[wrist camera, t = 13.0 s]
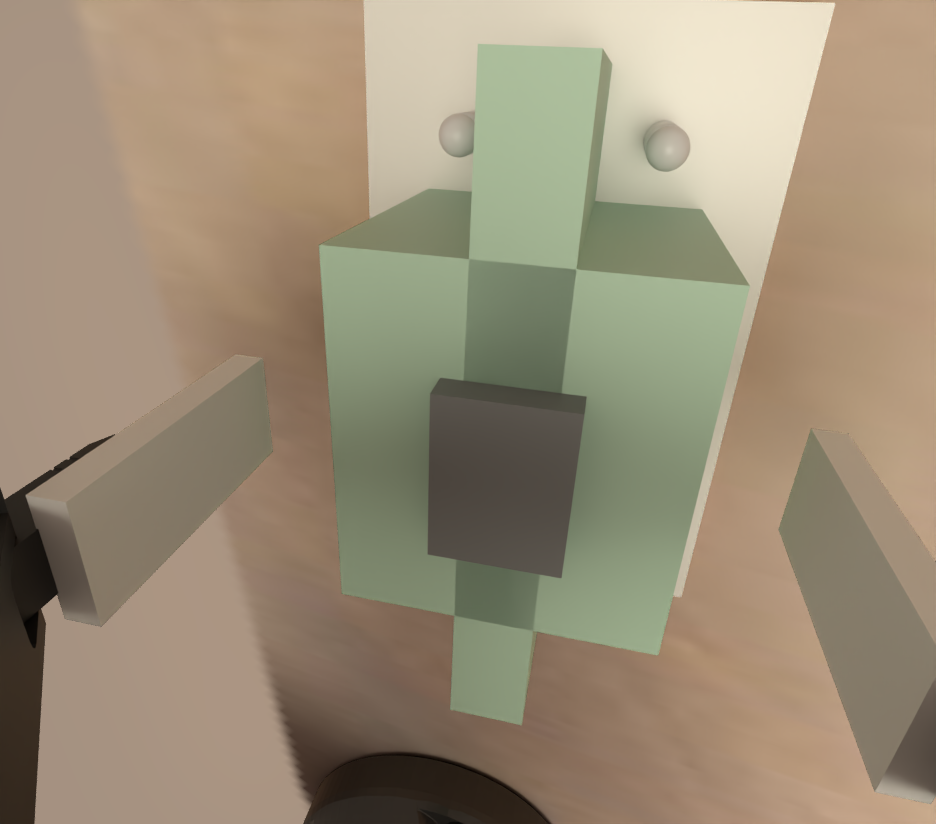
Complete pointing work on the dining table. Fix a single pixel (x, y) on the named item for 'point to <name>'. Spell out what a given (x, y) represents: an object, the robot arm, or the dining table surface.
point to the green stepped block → (525, 386)
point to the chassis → (615, 113)
